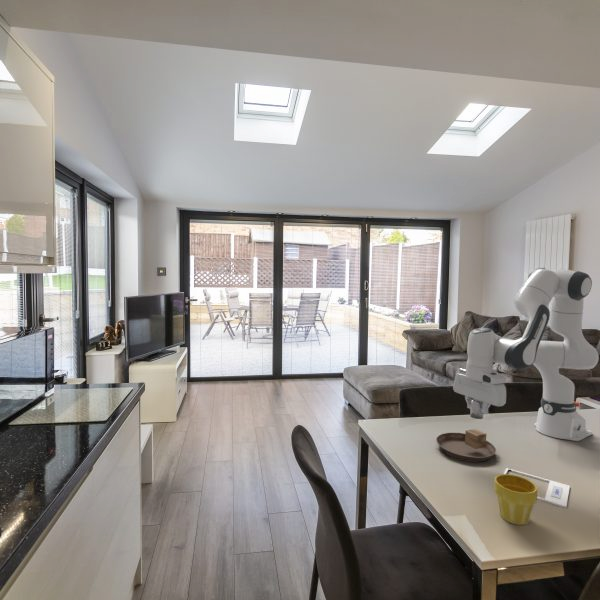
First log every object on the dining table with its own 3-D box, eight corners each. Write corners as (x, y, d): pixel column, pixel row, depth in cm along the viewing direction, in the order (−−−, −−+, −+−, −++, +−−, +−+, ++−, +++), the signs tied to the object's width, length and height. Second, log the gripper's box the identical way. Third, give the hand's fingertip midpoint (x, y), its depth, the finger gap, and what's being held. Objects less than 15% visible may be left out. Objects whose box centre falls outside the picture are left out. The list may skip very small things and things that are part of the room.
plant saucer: (505, 466, 139) (506, 457, 139) (445, 463, 141) (445, 454, 140) (482, 442, 160) (482, 433, 160) (429, 439, 161) (430, 431, 161)
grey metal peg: (475, 414, 148) (476, 398, 148) (486, 418, 144) (487, 401, 144) (467, 415, 146) (468, 399, 146) (477, 419, 142) (478, 402, 142)
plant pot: (484, 508, 113) (486, 475, 113) (515, 504, 116) (517, 471, 115) (511, 531, 103) (513, 495, 102) (544, 527, 105) (547, 491, 105)
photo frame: (566, 505, 114) (497, 484, 125) (566, 509, 114) (497, 488, 125) (569, 485, 126) (506, 467, 137) (569, 488, 126) (506, 470, 137)
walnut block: (474, 441, 152) (475, 428, 152) (485, 446, 148) (486, 433, 147) (464, 443, 150) (465, 430, 150) (475, 449, 145) (476, 435, 145)
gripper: (450, 367, 152) (448, 403, 153) (497, 380, 134) (495, 421, 135) (462, 366, 155) (460, 401, 156) (510, 379, 137) (507, 419, 137)
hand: (476, 411), depth 145 cm, fingers closed on grey metal peg, 4 cm apart
